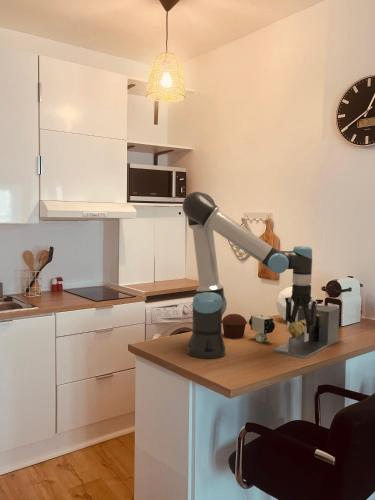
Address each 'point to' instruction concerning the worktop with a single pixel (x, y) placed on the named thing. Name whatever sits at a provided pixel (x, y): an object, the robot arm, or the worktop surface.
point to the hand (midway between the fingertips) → (299, 339)
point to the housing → (314, 333)
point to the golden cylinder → (298, 327)
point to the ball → (282, 303)
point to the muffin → (234, 326)
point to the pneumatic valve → (261, 326)
